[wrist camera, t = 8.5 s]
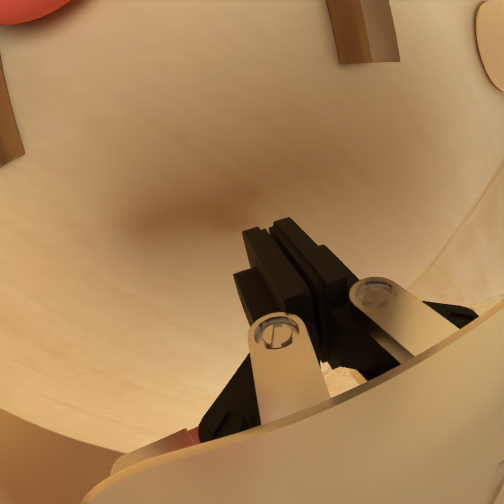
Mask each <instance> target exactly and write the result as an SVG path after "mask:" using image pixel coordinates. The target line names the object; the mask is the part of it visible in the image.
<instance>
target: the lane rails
mask: <svg viewBox="0 0 504 504" xmlns="http://www.w3.org/2000/svg"><path fill="white" fill-rule="evenodd" d="M326 1H327V5H328V9H329V13H330V18H331V22H332V27H333V31H334V36H335V41H336V46H337V51H338V57H339V62H340V64H350V63H369V62H400V56H399V50H398V44H397V39H396V33H395V28H394V23H393V18H392V14H391V9H390V5H389V1H388V0H326ZM23 154H25V151H24V148H23V145H22V142H21V139H20V136H19V132H18V129H17V126H16V122H15V119H14V115H13V111H12V108H11V104H10V100H9V96H8V91H7V87H6V82H5V78H4V73H3V68H2V62H1V57H0V167H1V166H3V165H5V164H7V163H8V162H10V161H12V160H14V159H16V158H18V157H19V156H21V155H23Z"/></svg>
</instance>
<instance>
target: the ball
mask: <svg viewBox="0 0 504 504" xmlns="http://www.w3.org/2000/svg"><path fill="white" fill-rule="evenodd" d="M69 1H70V0H0V25H13V24H19V23H24V22H28V21H31V20H34V19H38V18H40V17H42V16H45V15H47V14H49V13H51V12H53V11H55V10H57V9H58V8H60V7H61V6H63V5H65V4H66V3H68V2H69Z"/></svg>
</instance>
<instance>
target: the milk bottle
mask: <svg viewBox="0 0 504 504" xmlns="http://www.w3.org/2000/svg"><path fill="white" fill-rule="evenodd" d="M476 36H477V42H478V48H479V52H480V56H481V59H482V62H483V65H484V68H485V70H486V72H487V74H488V76H489V77H490V79H491V81H492V82H493V83H494V85H495V86H496V87H498V88H499V89H500V90H501V91H503V92H504V0H489V1H486V2H485V3H483V4H482V5H481V6H480V8H479V9H478V12H477V17H476Z"/></svg>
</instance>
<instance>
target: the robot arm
mask: <svg viewBox="0 0 504 504" xmlns="http://www.w3.org/2000/svg"><path fill="white" fill-rule="evenodd" d="M269 232H270V234H269V233H268V232H267V230H266V229H263V230H260V229H259V227H255V228H252V229H248V230H245V231H242V235H243V239H244V243H245V247H246V251H247V255H248V259H249V263H250V267H251V268H250V269H247V270H244V271H241V272H238V273H235V274H233V277H234V280H235V284H236V287H237V291H238V294H239V297H240V300H241V303H242V306H243V309H244V312H245V314H246V317H247V320H248V322H249V325H250V330H249V332H248V344H249V350H250V353H249V354H248V356H247V357H246V358H245V360H244V361H243V363H242V364H241V366H240V367H239V368H238V370H237V371H236V373H235V374H234V375H233V377H232V378H231V380H230V381H229V382H228V384H227V385H226V387H225V388H224V389H223V391H222V392H221V393H220V395H219V396H218V398H217V399H216V400H215V402H214V403H213V404H212V406H211V407H210V408H209V410H208V411H207V412H206V414H205V415H204V416H203V418H202V420H201V422H200V424H199V426H198V427H195V428H193V429H191V430H189V431H188V430H187V429H186V428H185V429H182V430H180V431H178V432H176V433H174V434H172V435H169V436H167V437H165V438H163V439H161V440H158V441H156V442H154V443H151V444H149V445H147V446H144V447H142V448H139V449H137V450H135V451H132V452H130V453H127V454H125V455H123V456H121V457H120V458H118V460H116V462H115V463H114V464H113V466H112V469H111V472H110V475H111V476H110V477H108V478H107V479H105V480H103V481H102V482H101V483H99V484H98V485H96V486H95V487H94V488H93V489H92V490H90V491H89V492H88V493H87V495H86V496H85V497H84V498H83V500H82V502H81V504H504V294H502V295H500V296H497V297H494V298H491V299H489V300H486V301H483V302H480V303H477V304H474V305H471V306H470V309H469V308H467V307H463V306H457V305H449V304H441V303H434V302H426V301H420V300H419V299H418V298H416V297H415V296H413V295H412V294H411V293H409V292H408V291H406V290H405V289H403V288H402V287H401V286H399V285H398V284H396V283H395V282H393V281H391V280H389V279H386V278H382V277H370V278H365V279H362V280H359V279H358V278H357V277H356V276H355V275H354V274H353V273H352V272H351V271H350V270H349V269H348V268H347V267H346V266H345V265H344V264H343V263H342V262H341V261H340V260H339V259H338V258H337V257H336V256H335V255H334V254H333V253H332V252H331V251H330V250H329V249H328V248H327V247H326V246H325V245H320V246H318V245H317V244H316V243H315V242H314V241H313V240H312V239H311V238H310V237H309V236H308V235H307V234H306V233H305V232H304V231H303V230H302V229H301V228H300V227H299V226H298V225H297V224H296V223H295V222H294V221H293V220H292V219H291V218H290V217H288V218H284V219H281V220H278V221H274V223H273V226H272V227H269ZM320 360H321V362H322V363H324V362H327V361H328V363H329V365H330V366H331V368H332V370H333V369H335V368H338V367H340V366H341V367H346V368H349V370H350V373H351V375H352V377H353V378H354V379H355V380H356V381H357V382H358V383H359V384H360V385H359V386H357V387H355V388H353V389H351V390H348V391H346V392H344V393H342V394H340V395H337V396H335V397H333V398H330V395H329V392H328V389H327V386H326V383H325V380H324V377H323V375H322V372H321V367H320Z"/></svg>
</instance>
